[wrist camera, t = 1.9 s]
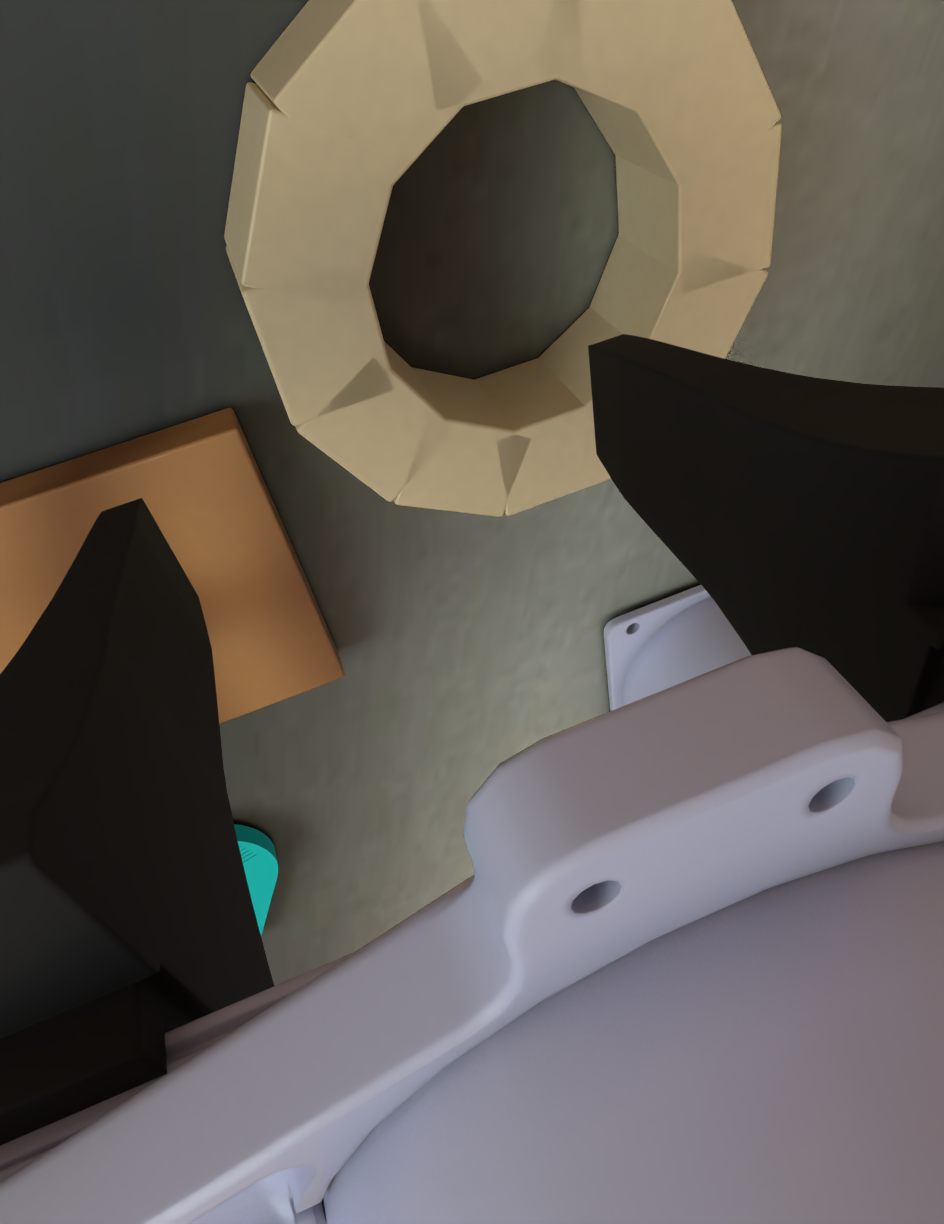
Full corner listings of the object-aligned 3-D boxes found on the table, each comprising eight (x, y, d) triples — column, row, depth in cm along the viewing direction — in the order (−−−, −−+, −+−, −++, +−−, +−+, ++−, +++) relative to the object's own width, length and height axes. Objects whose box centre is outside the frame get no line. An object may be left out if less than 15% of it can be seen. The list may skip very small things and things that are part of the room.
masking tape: (713, -154, 16) (808, -163, 14) (699, 380, 24) (758, 426, 22) (130, -2, 14) (135, 15, 12) (324, 511, 22) (348, 575, 20)
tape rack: (231, 405, 20) (268, 544, 15) (338, 651, 26) (384, 799, 22) (-147, 530, 19) (-221, 717, 14) (59, 755, 25) (51, 933, 21)
